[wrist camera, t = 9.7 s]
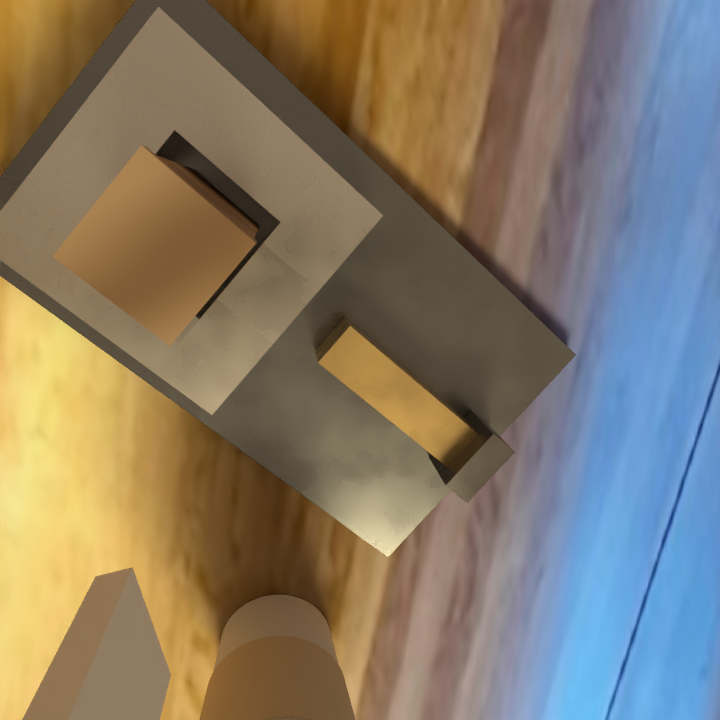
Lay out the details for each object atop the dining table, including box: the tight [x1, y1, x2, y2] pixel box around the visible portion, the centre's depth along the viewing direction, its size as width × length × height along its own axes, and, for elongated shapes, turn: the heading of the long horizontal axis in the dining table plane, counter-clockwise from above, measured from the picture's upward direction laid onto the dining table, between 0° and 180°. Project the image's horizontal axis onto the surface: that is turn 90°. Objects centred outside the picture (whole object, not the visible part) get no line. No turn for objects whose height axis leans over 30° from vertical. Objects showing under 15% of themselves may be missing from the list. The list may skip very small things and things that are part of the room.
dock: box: [0, 0, 576, 557], centre depth 30 cm, size 28×16×5 cm, turn 49°
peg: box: [52, 145, 259, 346], centre depth 24 cm, size 4×4×12 cm
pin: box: [315, 317, 515, 503], centre depth 32 cm, size 11×4×4 cm, turn 49°
